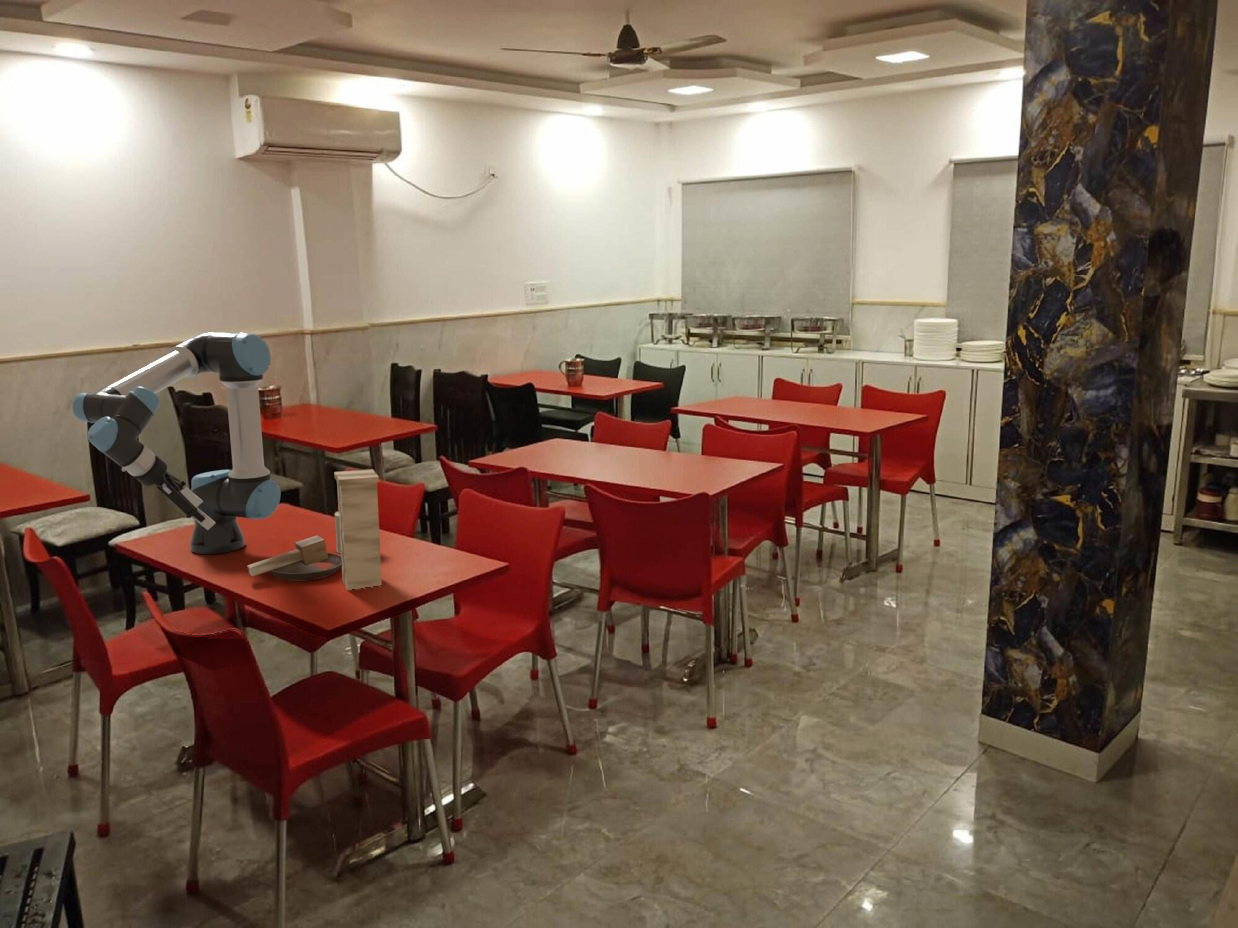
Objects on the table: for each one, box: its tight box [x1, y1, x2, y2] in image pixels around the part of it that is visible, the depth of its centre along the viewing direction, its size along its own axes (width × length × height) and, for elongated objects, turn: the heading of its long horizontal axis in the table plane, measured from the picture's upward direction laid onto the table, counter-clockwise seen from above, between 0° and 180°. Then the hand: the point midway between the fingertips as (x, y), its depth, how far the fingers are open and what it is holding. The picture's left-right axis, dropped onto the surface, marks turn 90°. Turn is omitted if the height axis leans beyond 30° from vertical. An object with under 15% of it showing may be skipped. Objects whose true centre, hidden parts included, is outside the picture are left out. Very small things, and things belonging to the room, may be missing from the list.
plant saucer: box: [269, 552, 342, 582], centre depth 274 cm, size 21×21×3 cm
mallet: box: [246, 535, 328, 577], centre depth 270 cm, size 6×20×6 cm, turn 126°
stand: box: [333, 468, 383, 591], centre depth 262 cm, size 10×10×30 cm
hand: (205, 515), depth 262 cm, fingers open, 13 cm apart
